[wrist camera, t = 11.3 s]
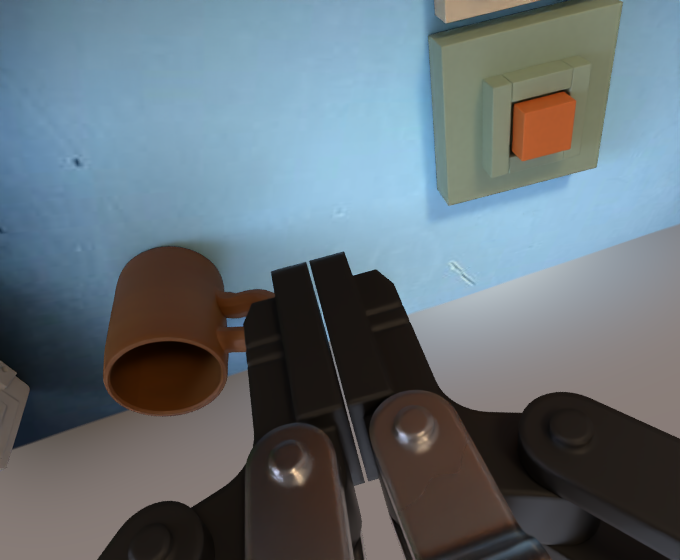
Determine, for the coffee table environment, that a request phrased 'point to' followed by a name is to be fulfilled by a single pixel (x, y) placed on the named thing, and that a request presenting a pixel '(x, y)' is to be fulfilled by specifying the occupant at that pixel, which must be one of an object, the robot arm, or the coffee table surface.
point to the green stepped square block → (518, 93)
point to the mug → (172, 332)
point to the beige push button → (471, 8)
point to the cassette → (10, 410)
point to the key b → (543, 126)
